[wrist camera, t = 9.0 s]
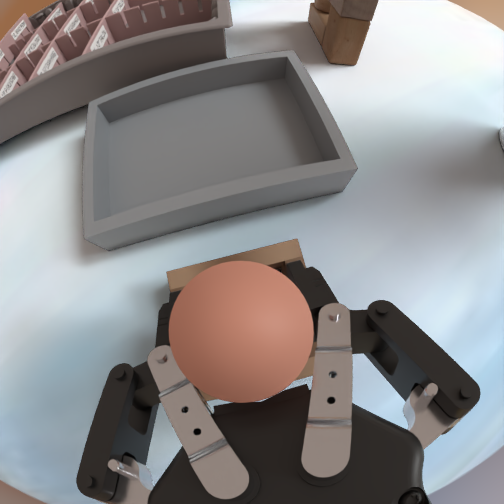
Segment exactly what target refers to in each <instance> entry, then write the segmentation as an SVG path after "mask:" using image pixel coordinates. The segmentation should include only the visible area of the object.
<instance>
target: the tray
mask: <svg viewBox="0 0 504 504" xmlns="http://www.w3.org/2000/svg"><path fill="white" fill-rule="evenodd" d="M357 169H358V168H357V166H356V163H355V161H354V159H353V157H352V155H351V152H350V150H349V148H348V146H347V144H346V142H345V140H344V138H343V136H342V134H341V132H340V130H339V128H338V126H337V124H336V122H335V120H334V118H333V116H332V114H331V112H330V110H329V108H328V107H327V105H326V103H325V101H324V99H323V98H322V96H321V94H320V92H319V90H318V89H317V87H316V85H315V84H314V82H313V80H312V78H311V77H310V75H309V73H308V72H307V70H306V69H305V67H304V65H303V64H302V62H301V61H300V59H299V57H298V56H297V54H296V53H295V51H294V50H288V51H277V52H268V53H260V54H252V55H246V56H239V57H233V58H228V59H223V60H218V61H213V62H208V63H204V64H199V65H195V66H191V67H187V68H183V69H180V70H176V71H173V72H169V73H166V74H162V75H159V76H156V77H153V78H150V79H147V80H144V81H141V82H138V83H135V84H132V85H130V86H127V87H124V88H122V89H119V90H117V91H114V92H112V93H109V94H107V95H104V96H102V97H100V98H98V99H95V100H93V101H91V102H89V106H88V113H87V122H86V131H85V142H84V157H83V187H82V202H83V232H84V239H85V240H87V241H89V242H91V243H93V244H95V245H97V246H99V247H101V248H103V249H105V250H108V251H111V250H114V249H118V248H121V247H124V246H128V245H131V244H135V243H138V242H142V241H145V240H148V239H152V238H155V237H159V236H163V235H166V234H170V233H173V232H177V231H181V230H184V229H188V228H192V227H195V226H199V225H203V224H207V223H211V222H214V221H218V220H222V219H226V218H230V217H234V216H238V215H242V214H246V213H250V212H254V211H258V210H262V209H267V208H271V207H275V206H279V205H284V204H288V203H292V202H297V201H301V200H306V199H310V198H315V197H319V196H324V195H328V194H333V193H338V192H343V190H344V189H345V187H346V186H347V184H348V183H349V181H350V180H351V178H352V177H353V175H354V174H355V172H356V171H357Z"/></svg>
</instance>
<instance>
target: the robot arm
mask: <svg viewBox="0 0 504 504" xmlns="http://www.w3.org/2000/svg"><path fill="white" fill-rule="evenodd" d="M499 135H500V141H501V145H502V147H503V150H504V127H503V128H502V129H501V130H500V133H499ZM286 268H287V275H288V278H289V279H290V280H291V281H292V282H293V283H294V284H295V285H296V286H297V288H298V289H299V290H300V292H301V293H302V295H303V296H304V298H305V300H306V302H307V304H308V306H309V309H310V312H311V315H312V320H313V330H314V335H313V342H316V341H317V348H316V350H315V360H314V371H313V380H312V390H309V389H308V386H307V384H305V385H301V386H298V387H295V388H291V389H287V390H284V391H282V392H280V393H278V394H276V395H274V396H272V397H270V398H268V399H266V400H264V401H262V402H246V403H237V402H233V403H228V404H223V405H217V406H214V412H213V411H212V410H211V408H210V406H209V405H208V403H207V402H206V400H205V398H204V397H203V395H202V393H201V392H200V390H199V389H198V388H197V387H196V386H194V385H193V384H192V383H191V382H190V381H189V380H188V379H187V378H186V377H185V375H184V374H183V373H182V371H181V370H180V368H179V367H178V365H177V363H176V361H175V359H174V357H173V354H172V350H171V347H170V341H169V321H170V316H171V312H172V309H173V306H174V303H175V301H176V299H177V297H178V295H179V294H180V293H181V291H182V290H178V291H174V292H171V293H170V298H169V303H166V304H163V306H162V307H161V309H160V311H159V316H158V327H157V335H156V346H155V349H153V350H152V351H151V352H150V354H149V355H148V359H147V361H146V362H144V363H143V364H140V365H138V366H136V367H134V368H132V367H131V366H130V365H129V364H126V363H122V364H119V365H117V366H115V367H114V368H113V369H112V370H111V371H110V373H109V376H108V378H107V381H106V384H105V387H104V389H103V392H102V395H101V398H100V401H99V404H98V407H97V410H96V413H95V416H94V419H93V422H92V425H91V428H90V432H89V435H88V438H87V441H86V445H85V448H84V452H83V455H82V459H81V463H80V467H79V471H78V475H77V481H76V482H77V486H78V489H79V490H80V492H81V493H82V494H84V495H85V496H88V497H91V498H93V499H96V500H98V501H100V502H103V503H106V504H432V503H431V502H430V500H429V498H428V496H427V495H426V493H425V490H424V487H423V481H422V468H423V461H424V451H423V450H424V449H425V448H426V447H427V446H428V445H430V444H431V443H432V442H433V441H434V440H435V439H436V438H438V437H439V436H440V435H443V434H445V433H447V432H449V431H450V430H451V429H452V428H453V427H454V426H455V425H456V424H457V423H458V422H459V421H460V420H461V419H462V418H463V417H464V416H465V415H466V414H467V413H468V412H469V411H470V410H471V409H472V408H473V407H474V406H475V405H476V404H477V402H478V401H479V399H480V388H479V386H478V384H477V383H476V382H475V381H474V380H473V379H472V378H471V377H470V376H469V375H468V374H467V373H466V372H465V371H464V370H463V369H462V368H461V367H460V366H459V365H458V364H457V363H456V362H455V361H454V360H453V359H452V358H451V357H450V356H449V355H448V354H447V353H446V352H445V351H444V350H443V349H442V348H441V347H440V346H439V345H437V344H436V343H435V342H434V341H433V340H432V339H431V338H430V337H429V336H428V335H427V334H426V333H425V332H423V331H422V330H421V329H420V328H419V327H418V326H417V325H416V324H415V323H414V322H413V321H411V320H410V319H409V318H408V317H407V316H406V315H405V314H404V313H402V312H401V311H400V310H399V309H398V308H397V307H396V306H395V305H393V304H392V303H391V302H389V301H385V300H378V301H374V302H372V303H371V304H370V305H369V307H368V310H349V309H348V308H347V307H346V306H344V305H342V304H339V302H338V301H337V299H336V297H335V296H334V294H333V292H332V291H331V289H330V287H329V286H328V284H327V283H326V281H325V279H324V278H323V276H322V274H321V273H320V271H318V270H317V269H315V268H314V267H309V268H305V267H304V265H303V263H302V262H301V260H297V261H294V262H290V263H286ZM359 353H364V354H365V356H366V357H367V358H368V359H369V360H370V361H371V362H372V363H373V365H374V366H375V367H376V368H377V369H378V370H379V371H380V373H381V374H382V375H383V376H384V377H385V378H386V380H387V381H388V382H389V383H390V384H391V385H392V386H393V388H394V389H395V390H396V391H397V392H398V393H399V394H400V396H401V397H402V398H403V399H404V400H405V401H406V402H405V404H404V407H403V414H404V416H405V418H406V420H407V422H408V430H407V429H404V428H402V427H400V426H398V425H396V424H394V423H391V422H389V421H387V420H385V419H383V418H381V417H379V416H377V415H375V414H373V413H371V412H369V411H367V410H365V409H363V408H361V407H359V406H357V405H355V404H353V403H352V354H359ZM159 403H162V405H163V407H164V409H165V411H166V413H167V416H168V418H169V420H170V422H171V424H172V426H173V428H174V430H175V432H176V434H177V436H178V438H179V440H180V442H181V444H182V445H183V446H182V447H181V449H180V450H179V452H178V453H177V455H176V456H175V458H174V459H173V461H172V462H171V463H170V465H169V466H168V468H167V469H166V471H165V472H164V473H163V475H162V476H161V478H160V479H159V480H158V482H157V483H156V485H155V486H154V487H153V485H152V475H151V472H150V470H149V468H148V467H147V466H146V461H147V456H148V451H149V446H150V442H151V437H152V432H153V428H154V423H155V418H156V414H157V410H158V405H159Z"/></svg>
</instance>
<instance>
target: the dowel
mask: <svg viewBox="0 0 504 504" xmlns="http://www.w3.org/2000/svg"><path fill="white" fill-rule="evenodd" d="M313 335H314V330H313V320H312V315H311V312H310V309H309V306H308V304H307V302H306V300H305V298H304V296H303V295H302V293H301V292H300V290H299V289H298V288H297V286H296V285H295V284H294V283H293V282H292V281H291V280H290V279H289V278H287V277H286V276H285V275H283V274H282V273H280V272H279V271H277V270H275V269H273V268H271V267H269V266H267V265H264V264H261V263H256V262H251V261H230V262H225V263H221V264H218V265H214V266H212V267H210V268H208V269H206V270H204V271H202V272H201V273H199V274H198V275H196V276H195V277H194V278H193V279H192V280H191V281H189V283H188V284H187V285H186V286H185V287H184V288H183V290H182V291H181V293H180V294H179V295H178V297H177V299H176V301H175V303H174V306H173V309H172V312H171V316H170V321H169V341H170V347H171V350H172V354H173V357H174V359H175V361H176V363H177V365H178V367H179V368H180V370H181V371H182V373H183V374H184V375H185V377H186V378H187V379H188V380H189V381H190V382H191V383H192V384H193V385H194V386H196V387H197V388H198V389H200V390H201V391H203V392H204V393H206V394H208V395H210V396H212V397H215V398H217V399H220V400H224V401H229V402H237V403H246V402H255V401H260V400H263V399H266V398H269V397H271V396H273V395H276V394H277V393H279V392H281V391H282V390H284V389H285V388H286V387H288V386H289V385H290V384H291V383H292V382H293V381H294V380H295V379H296V378H297V377H298V376H299V374H300V373H301V371H302V370H303V369H304V367H305V365H306V363H307V361H308V358H309V356H310V353H311V349H312V345H313Z"/></svg>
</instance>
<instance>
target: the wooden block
mask: <svg viewBox="0 0 504 504" xmlns="http://www.w3.org/2000/svg"><path fill="white" fill-rule="evenodd" d="M377 3H378V0H315V3H311V4H310V10H309V17H308V22H309V24H310V25H311V27H312V29H313V31H314V33H315V35H316V37H317V39H318V41H319V43H320V45H321V46H322V49H323V51H324V53H325V55H326V57H327V59H328V61H329V63H334V64H347V65H356V64H357V61H358V58H359V55H360V52H361V49H362V47H363V44H364V41H365V38H366V35H367V32H368V29H369V26H370V21H372V18H373V15H374V12H375V9H376V6H377Z"/></svg>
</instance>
